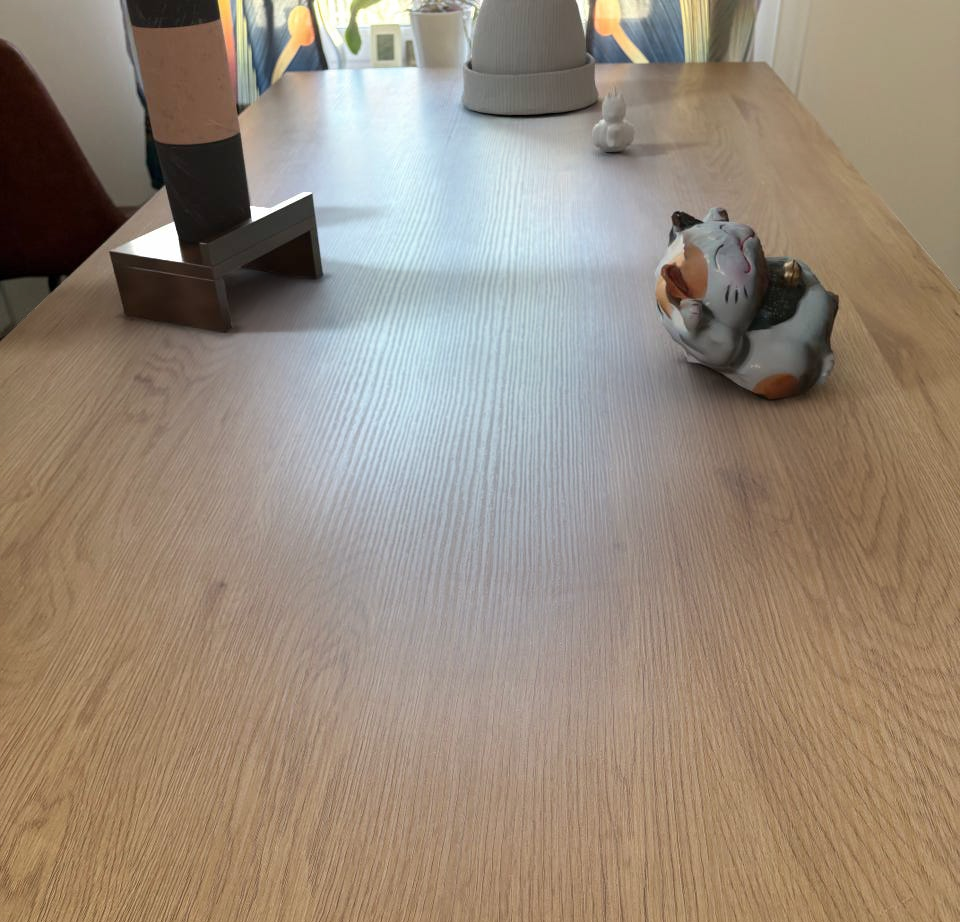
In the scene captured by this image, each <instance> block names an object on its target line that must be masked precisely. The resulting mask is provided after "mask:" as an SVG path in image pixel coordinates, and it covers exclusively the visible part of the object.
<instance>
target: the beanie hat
mask: <svg viewBox="0 0 960 922" xmlns="http://www.w3.org/2000/svg"><path fill="white" fill-rule="evenodd" d="M471 43H472V45H471V57H469V58H468V59H467V60H466V61H465V62H464V63H463V65H462V77H463V80H462V81H463V88H462V94H461V96H460V97H461V103H462V105H463V107H465V108H466V109H468V110H471V111H474V112H477V113H482V114H483V113H484V114H492V115H505V116H513V115H516V116H526V115H527V116H529V115H542V114H556V113H557V114H558V113H565V112H571V111H577V110H580V109H584V108H587V107H589V106H592V105H593V104H595V103H596V101H598V97H599V91H598V88H597V85H596V59H595V57H594V56H593V55H592V54H590V53H589V52H587V40H586V35H585V29H584V25H583V21H582V17H581V13H580V8H579V5H578V2H577V0H482V2H481V5H480V7H479V10H478V14H477V17H476V20H475V25H474V31H473V35H472V42H471Z"/></svg>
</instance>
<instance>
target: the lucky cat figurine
mask: <svg viewBox="0 0 960 922" xmlns="http://www.w3.org/2000/svg"><path fill="white" fill-rule="evenodd" d="M670 218H671V222H672V224H671V229H670V231H669V234H668V243H667V247H666V250H665V253H664V256H663V257H662V258H661V260H660V262H659V264H658V266H657V268H656V269H655V272H654V273H653V277H654V281H655V291H654V294H655V297H656V299H655V300H656V305H655V307H656V313H657V314H658V317H659V320H660V323H661V324H662V326H663V327H664V328H665V330H666V331H667V332H668V334H669V336H670V337H671V339H672V340H673V342H675V343H676V344H678V345H679V346H680V347H682V355H683V357H684V358H685V360H687V362H689V363H694V364H695V363H696V364H701V365H703V366H705V367H708V368H710V369H711V370H714V371H716V372H718V373H719V374H722V375H723V376H725V377H727V378H728V379H729V380H731V381H732V382H734V383H735V384H737V385H738V386H740V387H741V388H743V389H745V390H747V391H750V392H752V393H754V394H755V395H756V396H759V397H762V398H763V399H767V400H770V401H771V400H775V399H784V398H788V397H794V396H795V397H796V396H800V395H803V394H806V393H807V392H809V391H810V390H811V389H813V388H814V387H822V386H823V385H824V384H825V383H826V381H828V380H829V379H830V376H831V373H832V371H833V369H834V367H835V363H836V360H835V359H836V356H835V352H834V350H833V349H832V347H831V346H832V345H831V337H832V334H833V333H832V332H833V331H834V324H835V322H836V317H837V314H838V311H839V309H840V306H839V304H840V297H839V294H835V293H834V292H833V291H829V290H826V288H825V287H824V286H823V285H822V284H821V281H820V280H819V278H818V277H817V276H816V274H815V273H814V272H813V271H812V269H811V268H810V267H809V266H808V265H807V264H806V263H805V262H804V261H802V260H800V259H798V258H795V257H791V256H765V251H764V250H763V245H762V241H761V239H760V238H759V236H758V233H757V231H756V230H755V229H754V228H753V227H751V226H749V225H747V224H745V223H741V222H737V221H730V219H729V214H728V212H727V209H725V208H724V207H722V206H714V207H711V208H710V209H709V210H708V212H707V214H706V216H704V217H703V219H702V220H701V219H698V218H695V216H693V215H692V214H691V215H690V214H689V213H687V212H685V211H680V210H676V211H673V213H672V215H671V216H670Z"/></svg>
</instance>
